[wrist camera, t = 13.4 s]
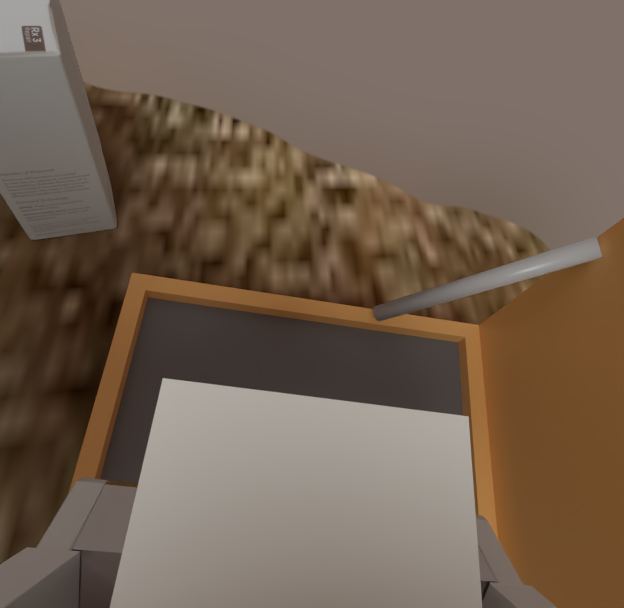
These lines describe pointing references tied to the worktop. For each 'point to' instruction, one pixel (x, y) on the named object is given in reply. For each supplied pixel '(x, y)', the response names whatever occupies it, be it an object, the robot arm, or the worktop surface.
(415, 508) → the plate
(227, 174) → the worktop surface
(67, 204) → the skincare box
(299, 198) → the worktop surface
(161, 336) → the equipment case
